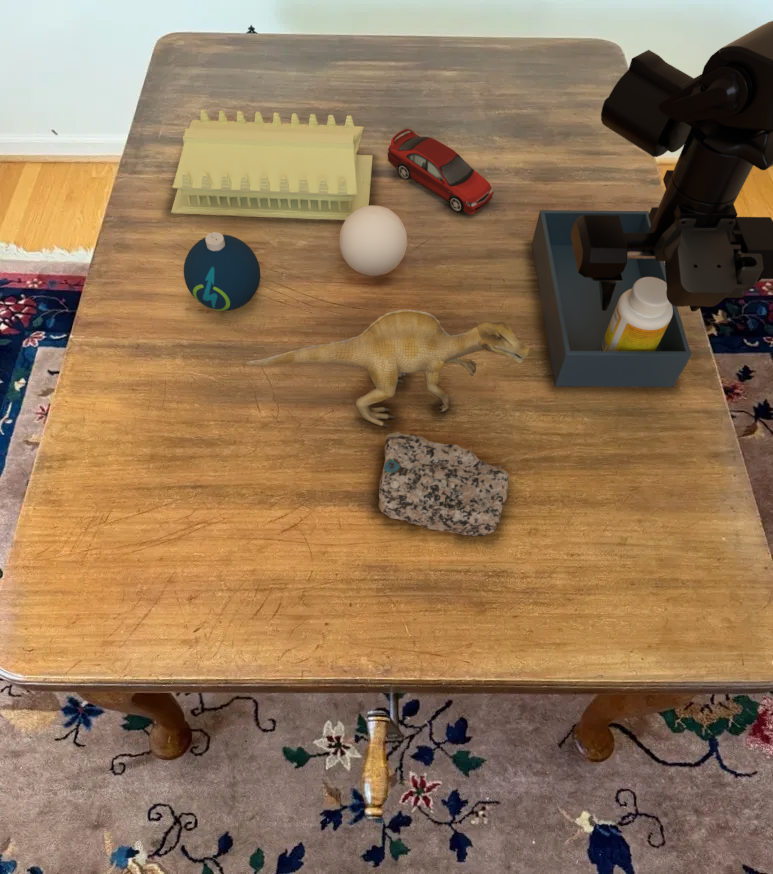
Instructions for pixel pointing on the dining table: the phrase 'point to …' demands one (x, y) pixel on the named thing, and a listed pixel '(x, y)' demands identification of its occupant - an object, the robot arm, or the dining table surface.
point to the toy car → (439, 171)
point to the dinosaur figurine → (405, 354)
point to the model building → (272, 168)
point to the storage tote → (597, 311)
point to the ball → (373, 240)
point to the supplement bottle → (639, 317)
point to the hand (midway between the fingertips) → (647, 308)
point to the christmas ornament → (222, 272)
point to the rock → (440, 486)
